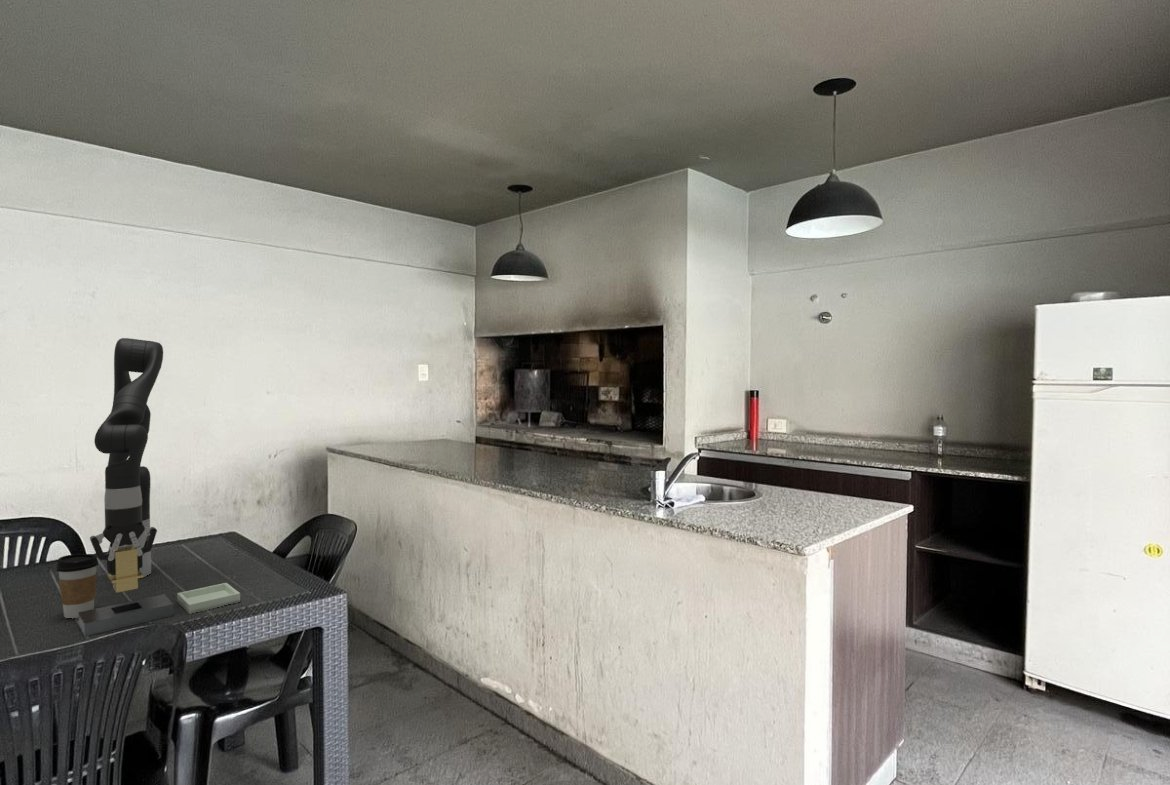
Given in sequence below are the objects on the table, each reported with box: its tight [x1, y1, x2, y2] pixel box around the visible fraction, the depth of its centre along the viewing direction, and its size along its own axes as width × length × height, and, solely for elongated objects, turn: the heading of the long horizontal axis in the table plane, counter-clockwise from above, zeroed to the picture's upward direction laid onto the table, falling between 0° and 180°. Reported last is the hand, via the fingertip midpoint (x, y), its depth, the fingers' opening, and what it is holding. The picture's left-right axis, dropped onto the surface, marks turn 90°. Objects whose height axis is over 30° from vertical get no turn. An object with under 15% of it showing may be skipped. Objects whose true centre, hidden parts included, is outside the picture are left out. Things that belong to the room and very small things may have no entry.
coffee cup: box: [56, 553, 99, 620], centre depth 163 cm, size 8×8×15 cm
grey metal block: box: [77, 593, 175, 637], centre depth 159 cm, size 10×18×3 cm, turn 135°
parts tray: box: [176, 582, 241, 615], centre depth 171 cm, size 12×12×2 cm
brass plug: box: [106, 546, 144, 594], centre depth 159 cm, size 6×6×10 cm
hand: (125, 572), depth 159 cm, fingers closed on brass plug, 4 cm apart
